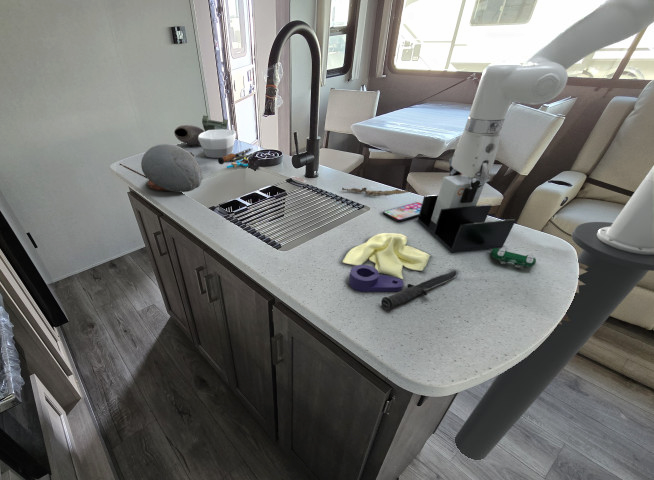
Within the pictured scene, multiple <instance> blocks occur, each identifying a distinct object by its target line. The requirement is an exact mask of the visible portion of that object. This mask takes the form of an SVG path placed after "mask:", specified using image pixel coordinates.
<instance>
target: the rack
mask: <svg viewBox="0 0 654 480" xmlns="http://www.w3.org/2000/svg"><path fill="white" fill-rule="evenodd" d="M437 198H438V194H431V195H424V196H423V198H422V199H423V200H422V203H421V204H422V206H421V209H420V213H419V216H417V220H416V222H417V223H418V224H419V225H420V226H422V227H423V229H425V231H427V232H428V233H429V234H430V235H431V236H432V237H433V238H434V239H435V240H436V241H438V242H439V243H440V244H441V245H442V246H443V247H444V248H445V249H446V250H447V251H448V252H449V253H451V254H456V253H458V254H459V253H466V252H475V251H486V250H492V249H494V248H498V249H501V248H502V247H504V245H505V244H506V241H507V239H508V237H509V236H510V233H511V231H512V230H513V227H514V225H515V223H516V221H517V219H514V218H510V219H501V220H492V221H486V220H487V217H488V215H489V213H490V210H491V208H492V206H493V205H492V204H491V203H489V204H488V203H487V204H480V205H479V204H478V205H476V206H468V207H457V208H447V209H441V211H440V214H439V217H438V220H437V223H436V224H435V223H434V222H433V221H431V218H432V214H433V211H434V208H435V204H436V201H437Z"/></svg>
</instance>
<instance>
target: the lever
mask: <svg viewBox="0 0 654 480" xmlns="http://www.w3.org/2000/svg"><path fill="white" fill-rule="evenodd" d="M348 285H349V286H350V287H351V289H353V290H355V291H357V292H361V293H397V292H399V291H402V290H403V287H404V285H405V283H404V281H403V279H400V278H397V277H394V276H391V275H387V274H381V273H379V272H378V270H377V269H375V266H372V265H368V264H361V265H353V266H352V268H350V272H349V278H348Z"/></svg>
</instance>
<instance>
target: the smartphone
mask: <svg viewBox="0 0 654 480" xmlns="http://www.w3.org/2000/svg"><path fill="white" fill-rule="evenodd" d="M421 206H422V203H421V202H413V203H409V204H405V205H401V206H398V207H394V208H391V209H387V210H384V211H383V212H382V214H383V215H384V216H386V217H388V218H390V219H392V220H394V221H395V222H403V221H408V220H411V219H413V218H418V216H419V213H420V209H421Z"/></svg>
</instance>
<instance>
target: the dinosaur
mask: <svg viewBox="0 0 654 480" xmlns="http://www.w3.org/2000/svg"><path fill="white" fill-rule="evenodd" d="M248 149H249V150H248V151H246V152H245V158H250V157H252V156H253V155H254V154H255V152H253V153H249V154H247V153H248V152H249V151H251V150H252V148H249V147H248ZM251 155H252V156H251ZM249 156H250V157H249ZM243 158H244V153H243V154H240V155H239V156H238V157H235V158H234V159H232V160H230V161H229V163H232V162H237V161H239V160H243Z"/></svg>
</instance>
